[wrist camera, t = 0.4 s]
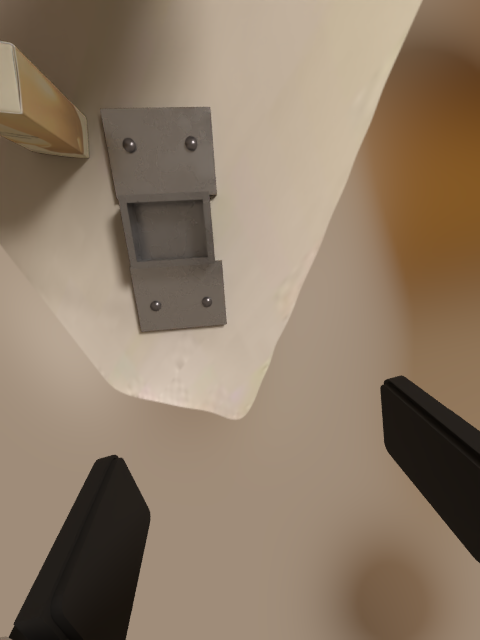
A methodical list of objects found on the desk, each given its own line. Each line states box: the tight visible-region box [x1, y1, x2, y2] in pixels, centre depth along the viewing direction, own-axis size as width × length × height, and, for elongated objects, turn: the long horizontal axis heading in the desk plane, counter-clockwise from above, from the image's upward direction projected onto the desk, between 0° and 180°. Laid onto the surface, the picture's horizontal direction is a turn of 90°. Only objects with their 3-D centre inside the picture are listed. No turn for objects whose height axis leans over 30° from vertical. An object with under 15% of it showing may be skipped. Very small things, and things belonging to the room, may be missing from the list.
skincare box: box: [0, 41, 89, 158], centre depth 24 cm, size 6×4×12 cm
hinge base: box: [100, 107, 227, 332], centre depth 32 cm, size 26×12×4 cm, turn 3°
